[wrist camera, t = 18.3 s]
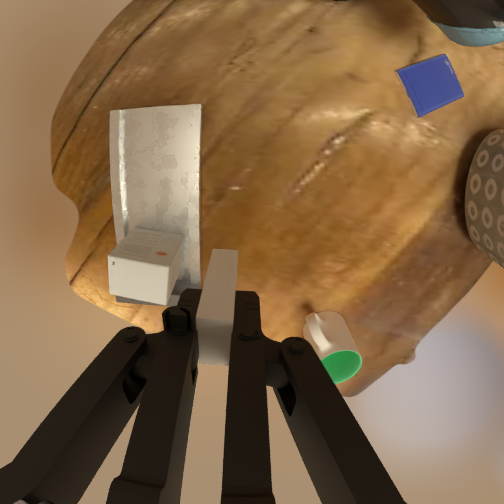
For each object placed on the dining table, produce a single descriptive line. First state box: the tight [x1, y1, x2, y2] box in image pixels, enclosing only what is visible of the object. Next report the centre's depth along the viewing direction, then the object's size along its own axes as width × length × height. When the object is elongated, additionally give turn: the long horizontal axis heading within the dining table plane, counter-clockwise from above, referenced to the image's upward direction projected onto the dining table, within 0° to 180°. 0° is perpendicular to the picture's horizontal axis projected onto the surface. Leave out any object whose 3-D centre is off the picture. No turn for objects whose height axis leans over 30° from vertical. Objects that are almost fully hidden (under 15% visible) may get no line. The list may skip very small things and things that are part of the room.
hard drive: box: [394, 54, 464, 118], centre depth 33 cm, size 2×8×12 cm
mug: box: [303, 311, 362, 384], centre depth 45 cm, size 12×8×10 cm
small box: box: [108, 227, 185, 305], centre depth 37 cm, size 8×6×10 cm
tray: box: [110, 104, 204, 306], centre depth 37 cm, size 28×13×6 cm, turn 177°
